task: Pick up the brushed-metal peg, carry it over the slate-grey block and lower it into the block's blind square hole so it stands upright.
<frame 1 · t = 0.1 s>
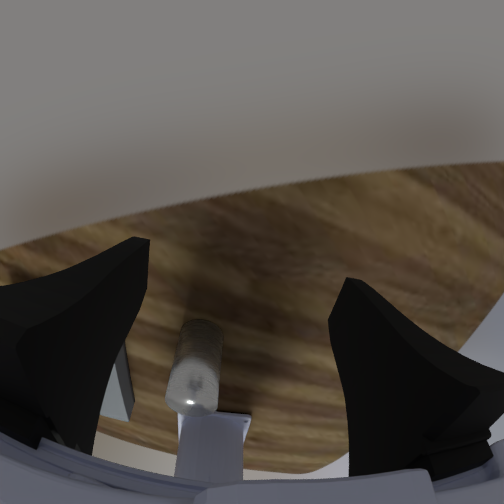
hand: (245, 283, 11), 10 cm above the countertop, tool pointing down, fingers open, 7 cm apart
peg: (201, 335, 25), on the countertop
hole block: (75, 354, 27), on the countertop
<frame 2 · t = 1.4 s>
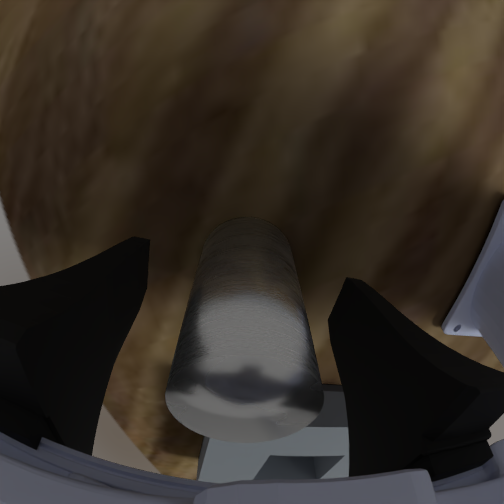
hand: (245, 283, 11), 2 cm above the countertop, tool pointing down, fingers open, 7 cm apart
peg: (246, 259, 13), on the countertop
hole block: (292, 434, 19), on the countertop
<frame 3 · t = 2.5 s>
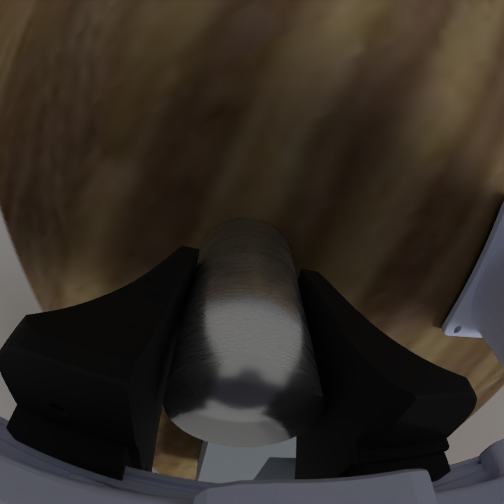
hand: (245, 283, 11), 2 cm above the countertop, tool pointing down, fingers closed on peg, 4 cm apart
peg: (245, 260, 13), on the countertop, touching gripper
hole block: (292, 435, 19), on the countertop
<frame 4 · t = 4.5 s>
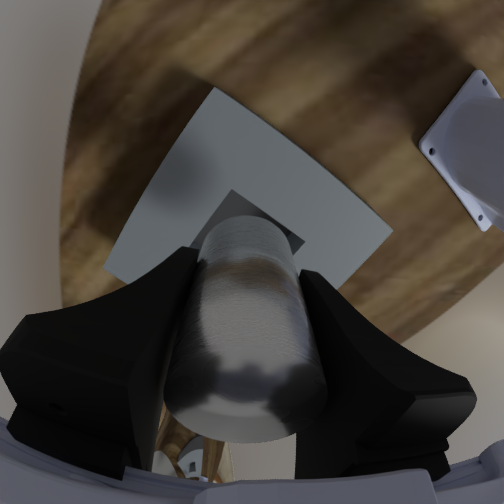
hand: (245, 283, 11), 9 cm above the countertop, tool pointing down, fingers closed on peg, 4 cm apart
peg: (245, 258, 13), point 7 cm above the countertop, touching gripper
hole block: (243, 227, 20), on the countertop
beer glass: (200, 385, 27), on the countertop
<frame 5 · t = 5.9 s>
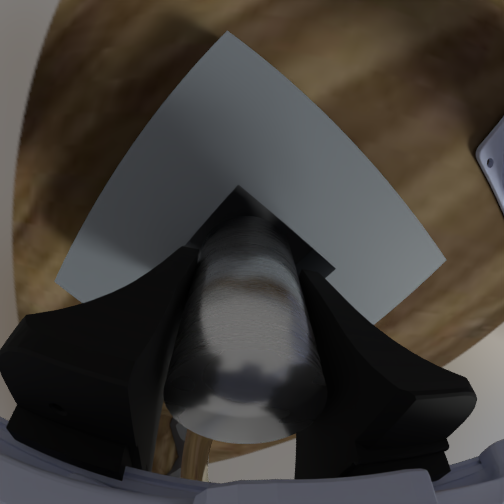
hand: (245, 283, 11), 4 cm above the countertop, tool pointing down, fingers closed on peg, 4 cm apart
peg: (245, 259, 13), point 2 cm above the countertop, touching gripper
hole block: (246, 239, 14), on the countertop
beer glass: (178, 417, 22), on the countertop
when the fingers open (4 cm above the countertop, at t = 6.6 s): peg drops 1 cm, resting on hole block.
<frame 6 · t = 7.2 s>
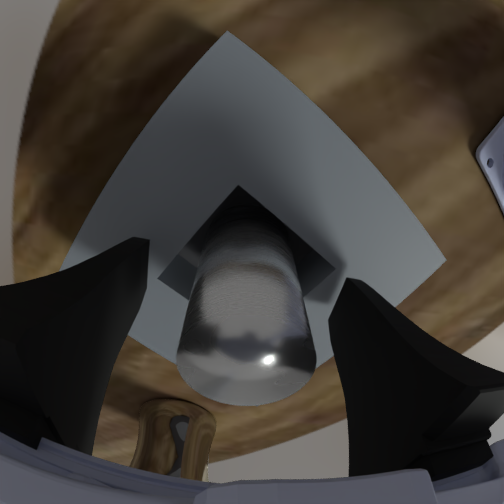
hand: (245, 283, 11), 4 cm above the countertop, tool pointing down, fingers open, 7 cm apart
peg: (247, 243, 14), point 1 cm above the countertop, touching hole block
hole block: (246, 239, 14), on the countertop
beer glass: (178, 417, 22), on the countertop
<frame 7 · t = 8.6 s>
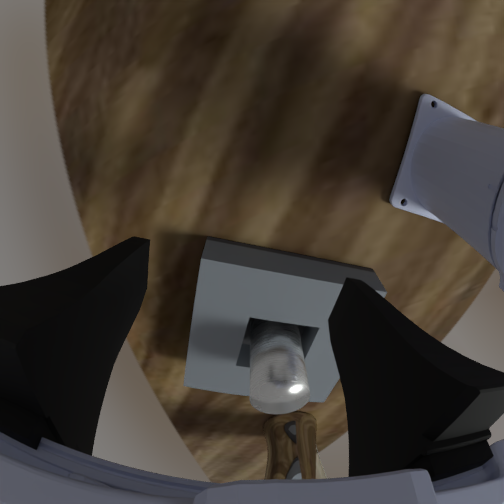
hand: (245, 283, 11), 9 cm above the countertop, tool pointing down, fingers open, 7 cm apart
peg: (273, 324, 23), point 1 cm above the countertop, touching hole block
hole block: (273, 321, 24), on the countertop
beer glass: (289, 423, 32), on the countertop
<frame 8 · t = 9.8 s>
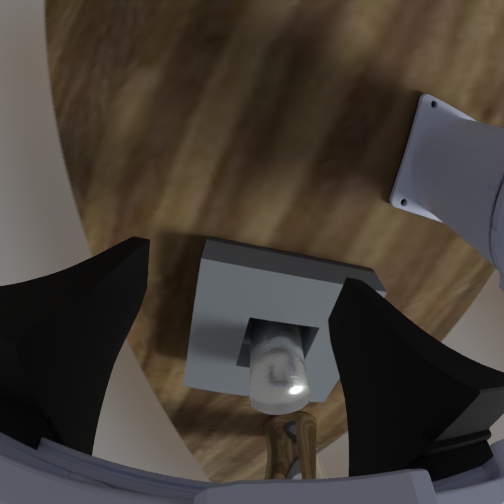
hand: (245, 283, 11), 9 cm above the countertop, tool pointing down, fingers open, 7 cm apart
peg: (273, 324, 23), point 1 cm above the countertop, touching hole block
hole block: (273, 321, 24), on the countertop
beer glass: (289, 423, 32), on the countertop
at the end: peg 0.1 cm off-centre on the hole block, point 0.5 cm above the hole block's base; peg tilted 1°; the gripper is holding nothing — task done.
